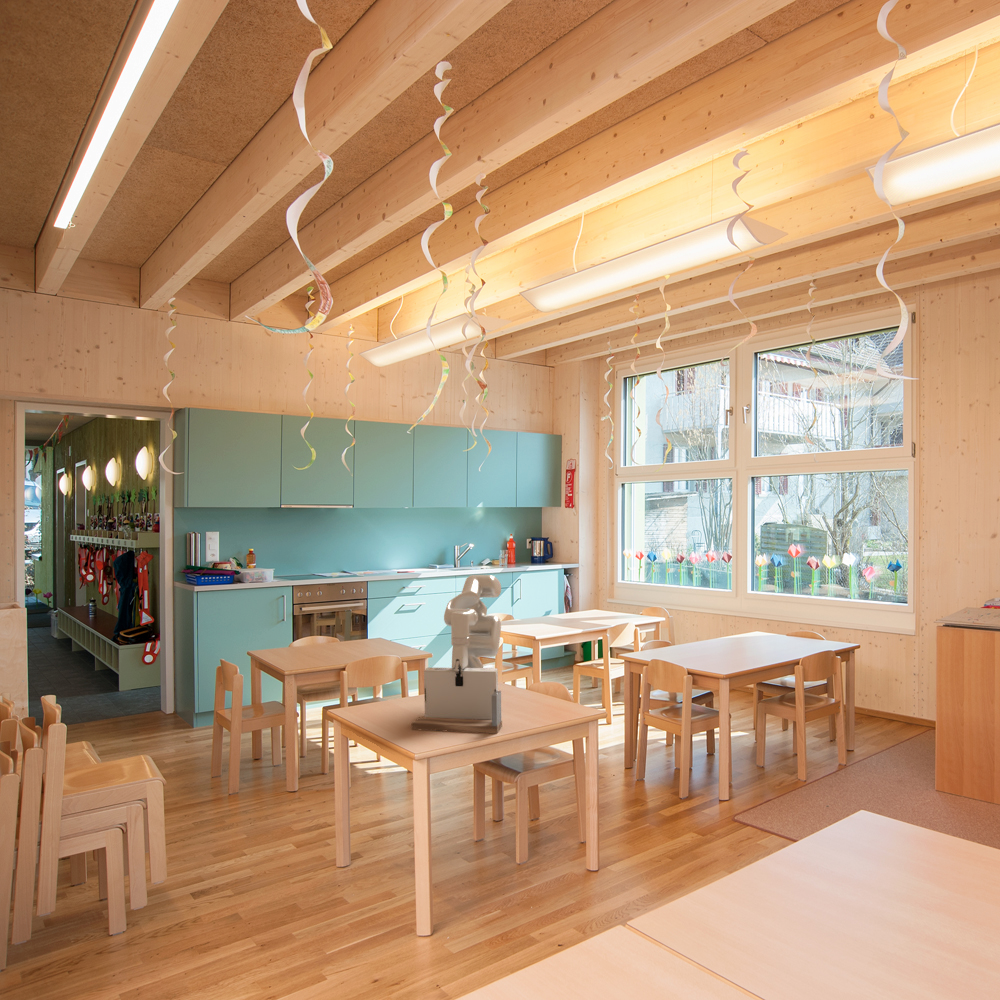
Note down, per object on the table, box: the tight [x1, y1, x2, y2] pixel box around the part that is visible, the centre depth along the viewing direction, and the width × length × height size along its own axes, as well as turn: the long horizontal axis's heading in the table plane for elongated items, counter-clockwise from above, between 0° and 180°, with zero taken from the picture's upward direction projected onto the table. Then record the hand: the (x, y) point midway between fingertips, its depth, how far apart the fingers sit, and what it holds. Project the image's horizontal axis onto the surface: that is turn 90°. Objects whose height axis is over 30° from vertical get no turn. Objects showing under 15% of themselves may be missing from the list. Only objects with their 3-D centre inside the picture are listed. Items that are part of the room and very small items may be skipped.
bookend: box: [492, 690, 502, 727], centre depth 306 cm, size 9×2×12 cm, turn 169°
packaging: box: [423, 667, 499, 720], centre depth 323 cm, size 30×6×20 cm, turn 83°
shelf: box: [411, 716, 503, 734], centre depth 309 cm, size 10×35×2 cm, turn 79°
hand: (460, 684), depth 322 cm, fingers closed on packaging, 4 cm apart
